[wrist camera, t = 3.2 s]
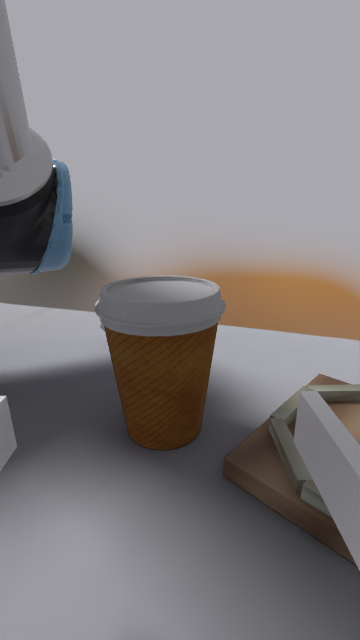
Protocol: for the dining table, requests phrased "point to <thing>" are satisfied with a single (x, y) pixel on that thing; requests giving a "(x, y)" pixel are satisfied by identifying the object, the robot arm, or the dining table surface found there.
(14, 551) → the dining table surface
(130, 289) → the disposable coffee cup
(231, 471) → the cup holder board
